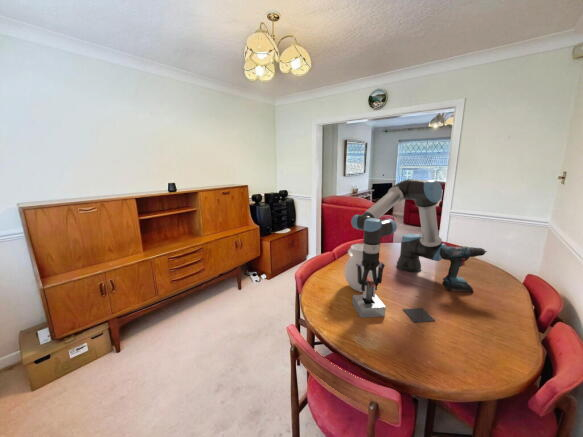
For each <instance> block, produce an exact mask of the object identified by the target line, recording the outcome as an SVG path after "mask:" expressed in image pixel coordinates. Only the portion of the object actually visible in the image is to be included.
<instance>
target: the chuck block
mask: <svg viewBox="0 0 583 437" xmlns="http://www.w3.org/2000/svg"><path fill="white" fill-rule="evenodd" d="M352 306H353V307H354V309H355V311H356V313H357V315H358V317H359V318H360V319H365V318H377V317H378V318H379V317H386V310H387V309H386V305H385V304H384V303H383V301H382V300H381V298H379V297H378V295H377V294H376V293H375V298H372V304H365V298H364V296H363V294H353V295H352Z"/></svg>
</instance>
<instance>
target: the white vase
mask: <svg viewBox="0 0 583 437" xmlns="http://www.w3.org/2000/svg"><path fill="white" fill-rule="evenodd" d="M347 254H348V257H349V259H348V261H347V262H346V263H345V268H344V269H345V270H344V277H345V281H346V282H347V284H348V285H349V286H350V288H352V289H353V290H354V291H357V292H361V293H363V291H362V290H361V285H360V284H359V283H358V274H357V266H356V264H360V263H361V262H362V260H363V243H355V244H352V245H351V246H350V247H349V249H348V250H347ZM378 268H379V266H378V267H377V268H376V271H377V272H376V274H377V276H378ZM361 270H362V277H363V272H364V267H363V266H362V269H361ZM368 276H369V278H370V279H371V280H372V281H373V276H372V270H370V271H369V273H368ZM366 281H367V280H366Z"/></svg>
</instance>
